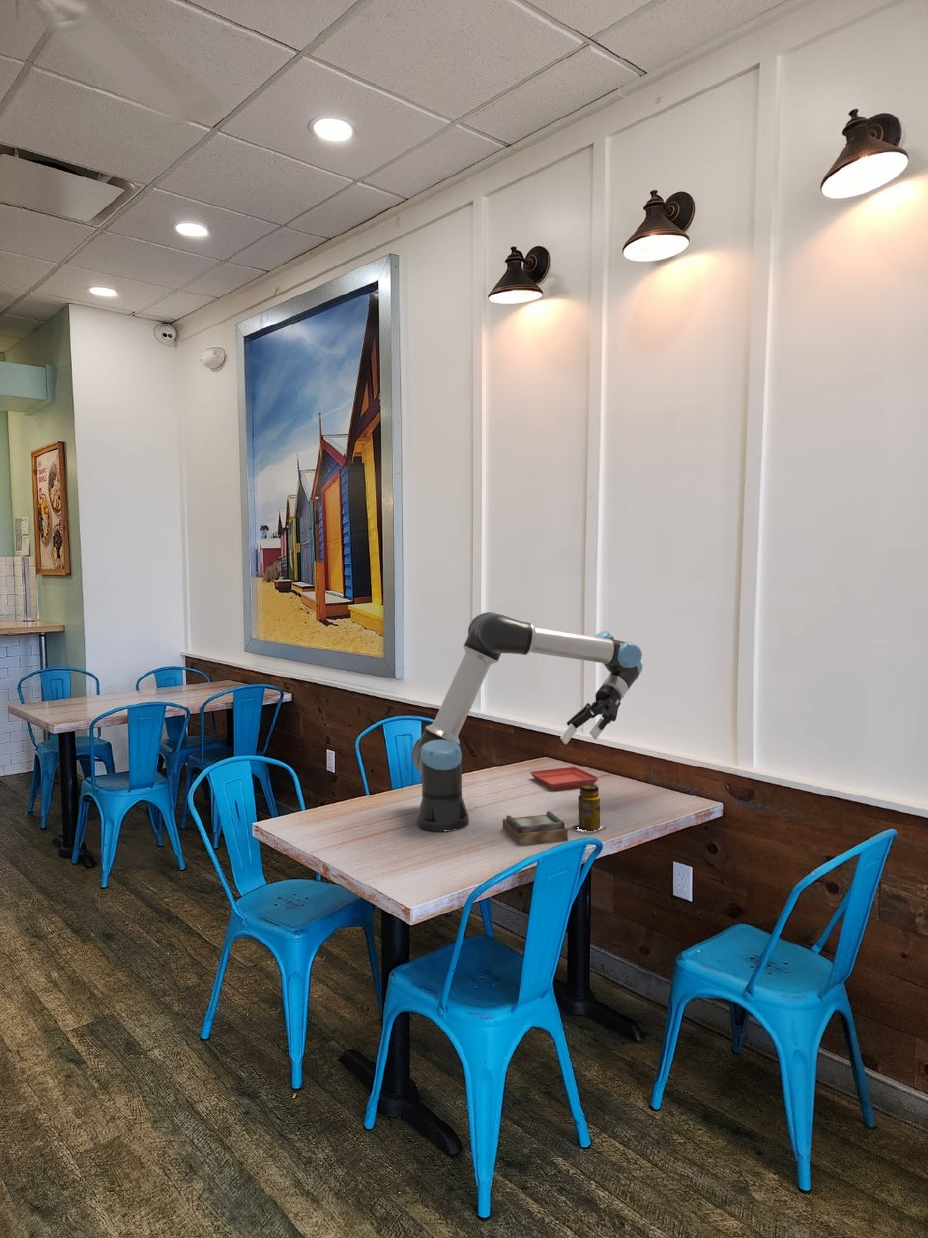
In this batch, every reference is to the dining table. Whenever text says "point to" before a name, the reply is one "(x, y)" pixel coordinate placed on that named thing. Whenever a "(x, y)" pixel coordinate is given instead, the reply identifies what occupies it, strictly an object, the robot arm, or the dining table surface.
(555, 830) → the dock
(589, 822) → the condiment
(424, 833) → the dining table surface
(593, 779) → the plant saucer
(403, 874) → the dining table surface
